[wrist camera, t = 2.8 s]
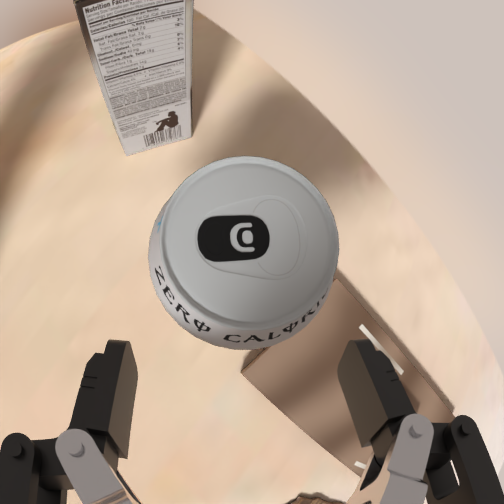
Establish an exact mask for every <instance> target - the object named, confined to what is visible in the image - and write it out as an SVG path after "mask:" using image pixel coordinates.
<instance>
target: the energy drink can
mask: <svg viewBox="0 0 504 504" xmlns="http://www.w3.org/2000/svg"><path fill="white" fill-rule="evenodd" d="M338 255H339V238H338V230H337V227H336V223H335V219H334V216H333V214H332V212H331V210H330V207H329V205H328V203H327V201H326V200H325V199H324V197H323V196H322V194H321V193H320V192H319V190H318V189H317V188H316V187H315V186H314V185H313V184H312V183H311V182H310V181H309V180H308V179H307V178H306V177H305V176H303V175H302V174H300V173H299V172H297V171H296V170H294V169H293V168H291V167H289V166H287V165H285V164H282V163H280V162H278V161H275V160H271V159H267V158H263V157H255V156H237V157H229V158H225V159H221V160H218V161H214V162H212V163H210V164H208V165H206V166H204V167H202V168H200V169H198V170H197V171H195V172H194V173H193V174H192V175H190V176H189V177H188V178H186V179H185V180H184V181H183V183H182V184H181V185H180V186H179V187H178V188H177V189H176V191H175V192H174V193H173V195H172V196H171V197H170V199H169V200H168V201H167V202H166V203H165V205H164V206H163V208H162V209H161V211H160V213H159V215H158V217H157V219H156V220H155V223H154V226H153V230H152V233H151V236H150V242H149V253H148V260H149V269H150V276H151V279H152V282H153V285H154V288H155V291H156V294H157V296H158V298H159V299H160V301H161V303H162V304H163V306H164V308H165V309H166V311H167V312H168V313H169V314H170V315H171V317H172V318H173V319H174V320H175V321H176V322H177V323H178V324H179V325H180V326H181V327H182V328H184V329H185V330H187V331H188V332H189V333H191V334H192V335H194V336H195V337H197V338H199V339H201V340H203V341H206V342H208V343H210V344H212V345H215V346H219V347H224V348H229V349H234V350H254V349H259V348H264V347H269V346H273V345H275V344H278V343H280V342H282V341H285V340H287V339H289V338H291V337H292V336H294V335H295V334H297V333H298V332H299V331H301V330H302V329H304V328H305V327H306V326H307V325H308V324H309V323H310V322H311V321H312V319H313V318H314V317H315V316H316V315H317V314H318V312H319V311H320V309H321V308H322V306H323V304H324V302H325V301H326V299H327V297H328V294H329V291H330V288H331V286H332V283H333V277H334V273H335V270H336V268H337V263H338Z"/></svg>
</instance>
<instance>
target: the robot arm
mask: <svg viewBox="0 0 504 504" xmlns="http://www.w3.org/2000/svg"><path fill="white" fill-rule="evenodd" d="M337 375H338V380H339V383H340V385H341V388H342V391H343V394H344V397H345V400H346V403H347V406H348V408H349V411H350V414H351V417H352V420H353V423H354V426H355V429H356V432H357V435H358V438H359V441H360V444H361V447H362V448H363V447H368V446H372V448H373V452H372V453H371V455H370V458H369V460H368V463H367V465H366V467H365V470H364V472H363V474H362V477H361V479H360V481H359V483H358V486H357V488H356V490H355V492H354V493H353V495H352V496H351V497H350V498H349V500H348V501H347V502H346V504H423V503H424V500H425V497H426V499H427V503H428V504H504V494H503V491H502V488H501V485H500V482H499V479H498V477H497V474H496V471H495V468H494V466H493V463H492V461H491V458H490V456H489V453H488V451H487V448H486V446H485V443H484V441H483V439H482V436H481V434H480V432H479V429H478V427H477V425H476V423H475V422H474V420H473V419H472V418H470V417H468V416H466V415H460V416H457V417H456V418H454V419H453V420H452V421H451V422H450V423H433V422H430V420H429V419H428V418H426V417H425V416H423V415H421V414H417V413H416V412H415V410H414V408H413V406H412V404H411V402H410V399H409V397H408V395H407V393H406V391H405V389H404V387H403V385H402V383H401V381H399V377H398V375H397V373H396V372H395V369H394V367H393V365H392V363H391V361H390V359H389V358H388V357H387V356H386V355H385V354H384V353H383V352H382V351H381V350H379V351H376V349H375V347H374V345H373V343H372V341H371V340H370V339H368V338H366V339H356V340H350V341H349V342H348V344H347V346H346V348H345V351H344V353H343V355H342V357H341V360H340V362H339V364H338V368H337ZM137 380H138V372H137V365H136V362H135V358H134V355H133V351H132V348H131V344H130V342H129V341H121V340H108V342H107V345H106V348H105V351H104V354H102V353H95V354H94V355H93V356H92V358H91V359H90V360H89V361H88V362H87V364H86V368H85V371H84V374H83V378H82V381H81V385H80V386H81V387H80V388H79V392H78V395H77V399H76V403H75V407H74V411H73V415H72V419H71V422H70V425H69V427H68V429H67V430H66V431H64V432H63V433H62V434H61V435H60V436H59V437H57V438H54V439H45V440H30V439H29V438H28V437H27V436H26V435H24V434H21V433H12V434H10V435H8V436H7V437H6V438H5V439H4V440H3V442H2V445H1V450H0V504H66V502H67V490H69V489H75V491H76V493H77V494H78V496H79V498H80V500H81V501H82V503H83V504H142V502H141V501H140V500H139V498H138V497H137V496H136V494H135V493H134V492H133V490H132V489H131V488H130V486H129V485H128V483H127V482H126V480H125V479H124V478H123V476H122V475H121V473H120V472H119V470H118V469H117V467H118V457H119V458H125V459H127V457H128V447H129V438H130V430H131V422H132V415H133V407H134V400H135V394H136V387H137ZM451 460H452V461H453V464H454V467H455V470H456V473H457V476H458V479H459V485H458V483H457V480H456V477H455V474H454V471H453V468H452V465H451V462H450V461H451Z"/></svg>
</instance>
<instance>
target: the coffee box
mask: <svg viewBox="0 0 504 504" xmlns="http://www.w3.org/2000/svg"><path fill="white" fill-rule="evenodd" d="M193 1H194V0H74V1H73V3H74V5H75V8H76V12H77V15H78V19H79V22H80V26H81V30H82V33H83V36H84V39H85V43H86V46H87V49H88V52H89V55H90V59H91V62H92V65H93V68H94V71H95V74H96V77H97V80H98V83H99V86H100V88H101V91H102V94H103V97H104V100H105V103H106V105H107V108H108V111H109V113H110V116H111V119H112V122H113V125H114V127H115V130H116V132H117V135H118V137H119V140H120V142H121V145H122V147H123V149H124V152H125V154H126V156H129V155H132V154H135V153H138V152H142V151H145V150H148V149H152V148H155V147H159V146H162V145H166V144H169V143H173V142H176V141H180V140H184V139H188V138H191V137H192V134H193V131H192V38H193Z"/></svg>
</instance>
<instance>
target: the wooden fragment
mask: <svg viewBox="0 0 504 504" xmlns="http://www.w3.org/2000/svg"><path fill="white" fill-rule="evenodd" d="M290 504H343V503H341V502H327V501H324V500H322V499H321V498H314V499H309V498H305V497H301V496H300V497H297V499H296V500H295V501H294V502H292V503H290Z"/></svg>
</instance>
